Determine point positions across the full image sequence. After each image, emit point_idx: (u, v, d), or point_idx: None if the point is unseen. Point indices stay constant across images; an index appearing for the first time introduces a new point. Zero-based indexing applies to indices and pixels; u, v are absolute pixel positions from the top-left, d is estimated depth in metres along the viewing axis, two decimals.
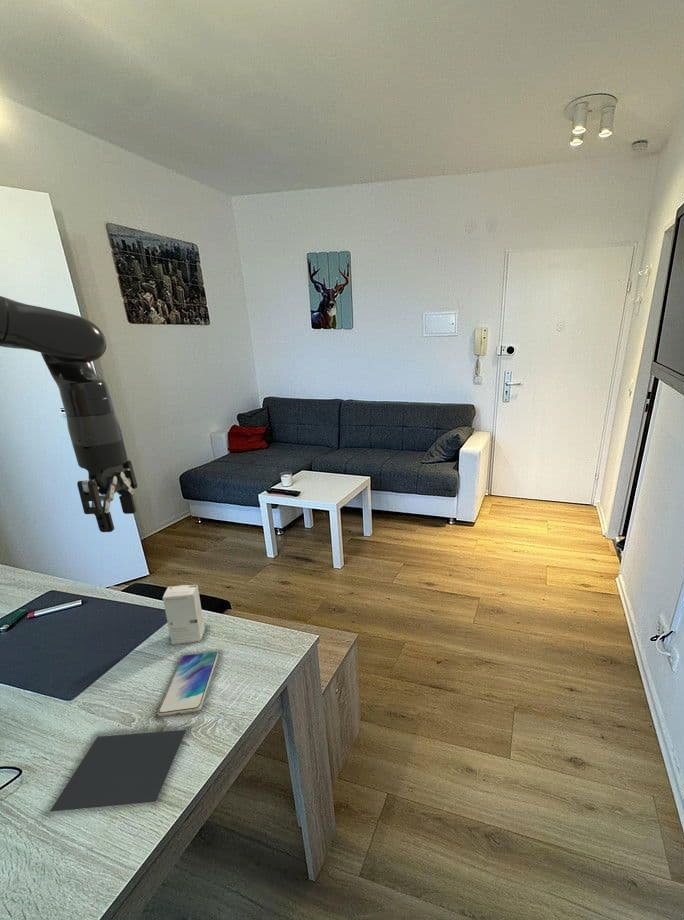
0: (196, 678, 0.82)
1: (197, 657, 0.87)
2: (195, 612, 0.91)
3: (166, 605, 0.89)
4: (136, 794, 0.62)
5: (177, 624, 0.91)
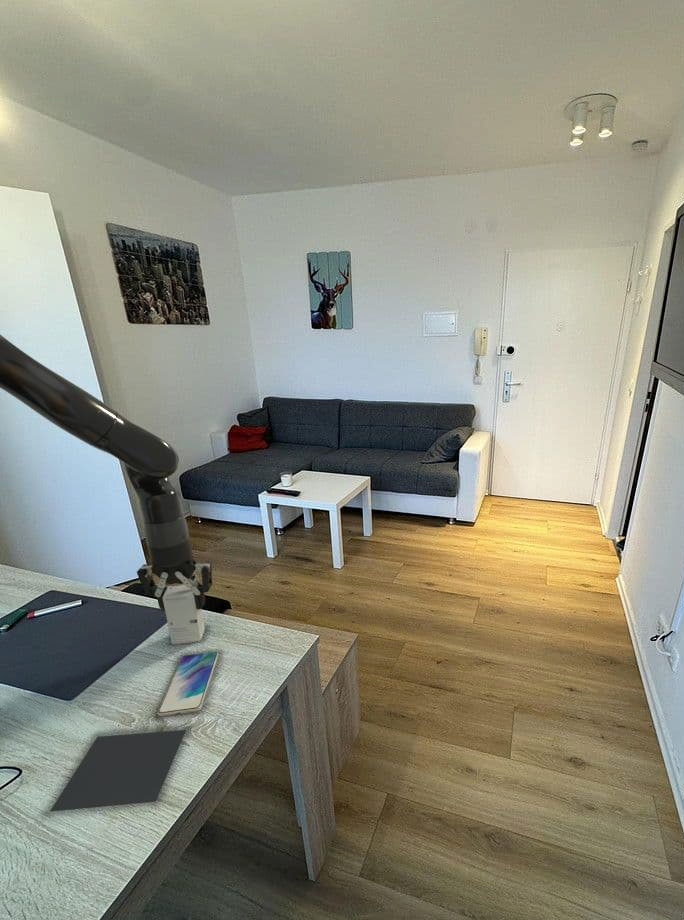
0: (196, 678, 0.82)
1: (197, 657, 0.87)
2: (195, 612, 0.91)
3: (166, 605, 0.89)
4: (136, 794, 0.62)
5: (177, 624, 0.91)
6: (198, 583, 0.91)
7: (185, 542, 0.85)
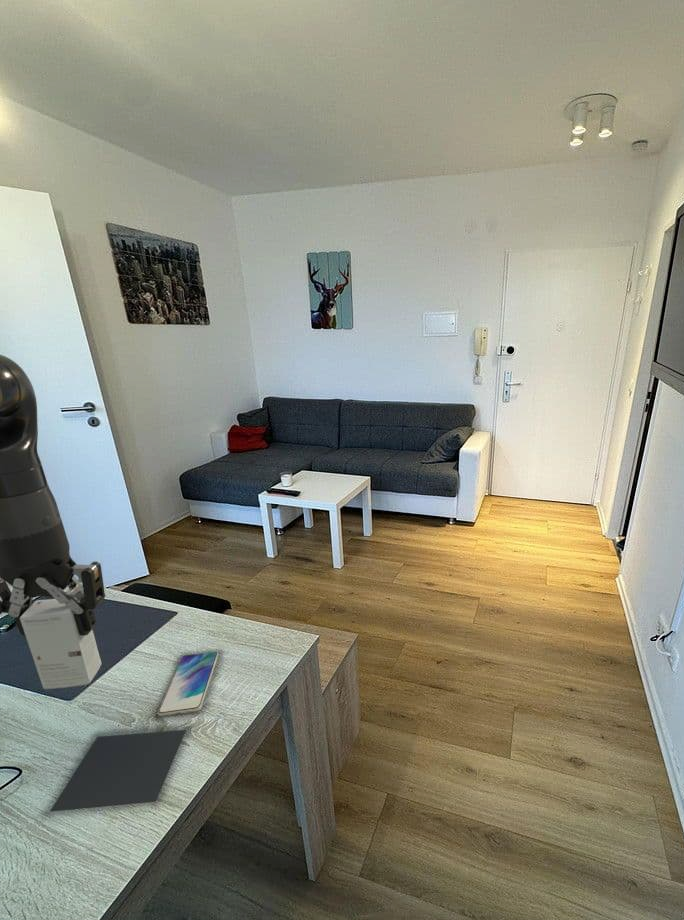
0: (196, 678, 0.82)
1: (197, 657, 0.87)
2: (77, 640, 0.59)
3: (27, 631, 0.57)
4: (136, 794, 0.62)
5: (49, 659, 0.59)
6: (82, 595, 0.59)
7: (49, 531, 0.53)
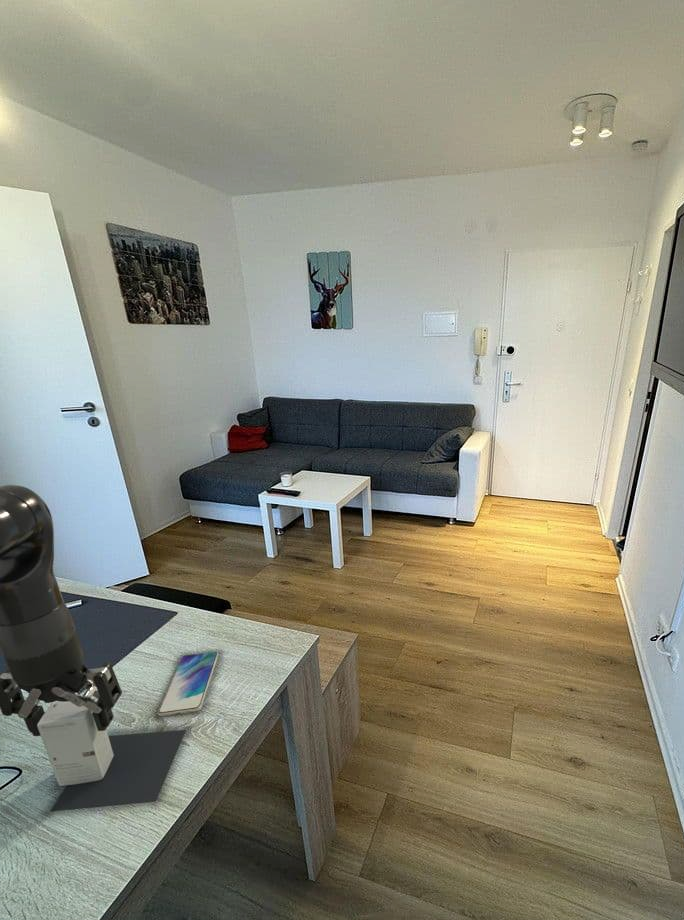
0: (196, 678, 0.82)
1: (197, 657, 0.87)
2: (90, 741, 0.61)
3: (44, 735, 0.60)
4: (136, 794, 0.62)
5: (64, 759, 0.61)
6: (99, 693, 0.61)
7: (64, 645, 0.56)
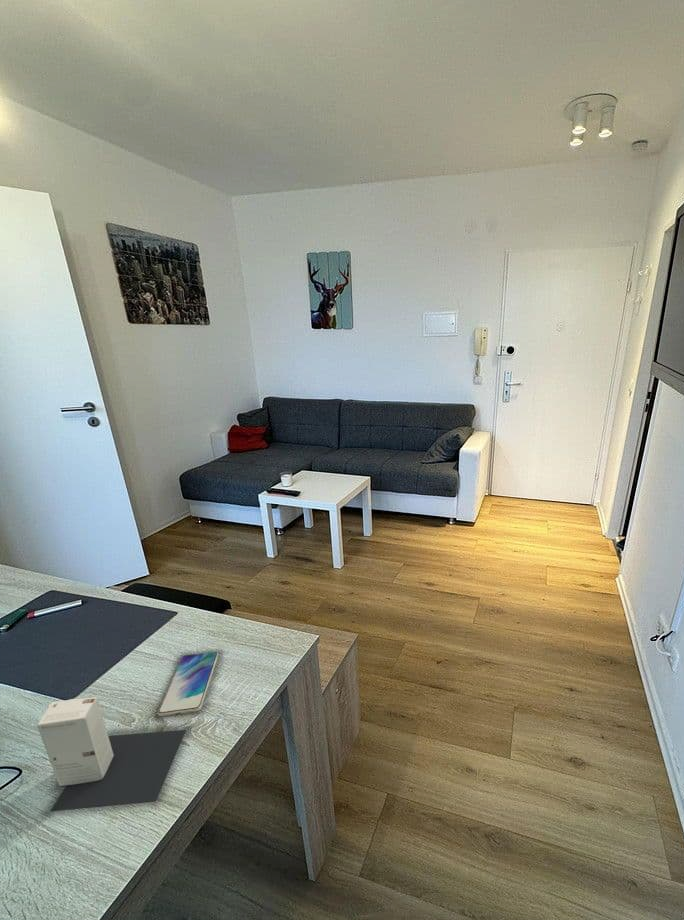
0: (196, 678, 0.82)
1: (197, 657, 0.87)
2: (90, 741, 0.61)
3: (44, 735, 0.60)
4: (136, 794, 0.62)
5: (64, 759, 0.61)
6: None
7: None
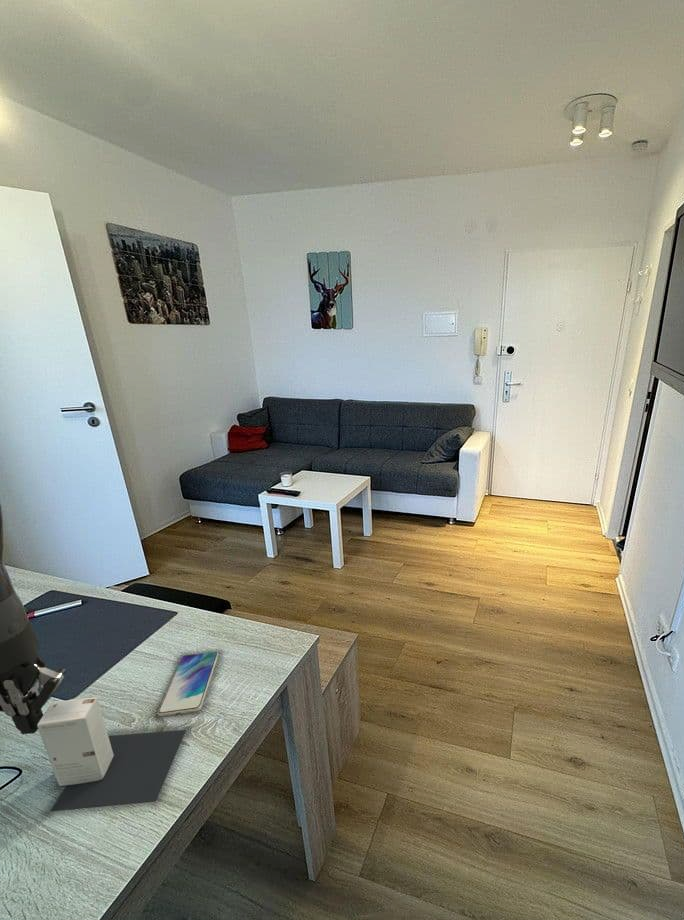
0: (196, 678, 0.82)
1: (197, 657, 0.87)
2: (90, 741, 0.61)
3: (44, 735, 0.60)
4: (136, 794, 0.62)
5: (64, 759, 0.61)
6: (34, 695, 0.60)
7: (15, 637, 0.55)
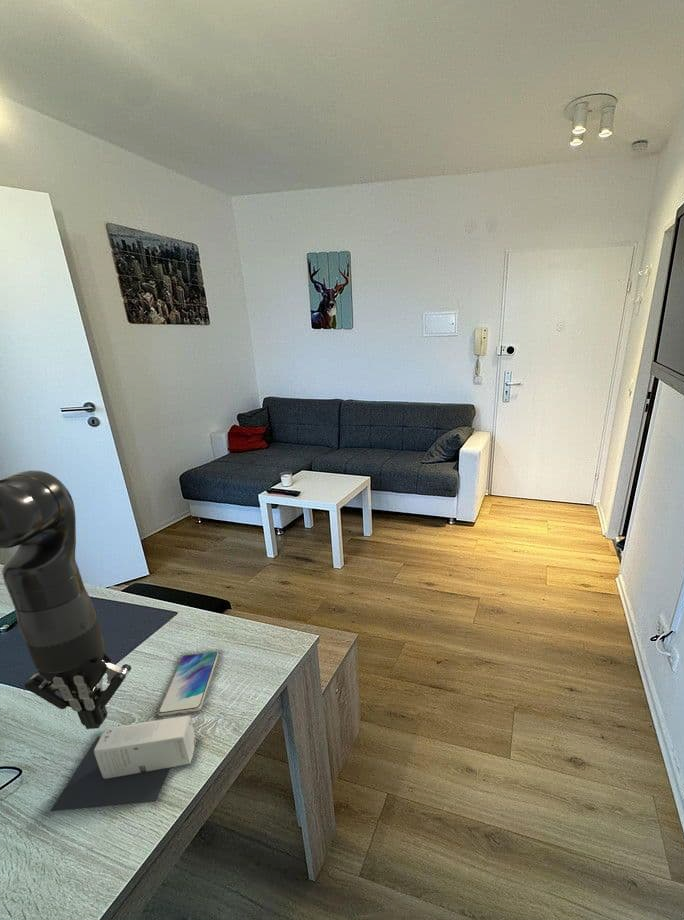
0: (196, 678, 0.82)
1: (197, 657, 0.87)
2: (158, 768, 0.66)
3: (167, 741, 0.64)
4: (136, 794, 0.62)
5: (135, 755, 0.64)
6: (98, 690, 0.61)
7: (86, 633, 0.55)
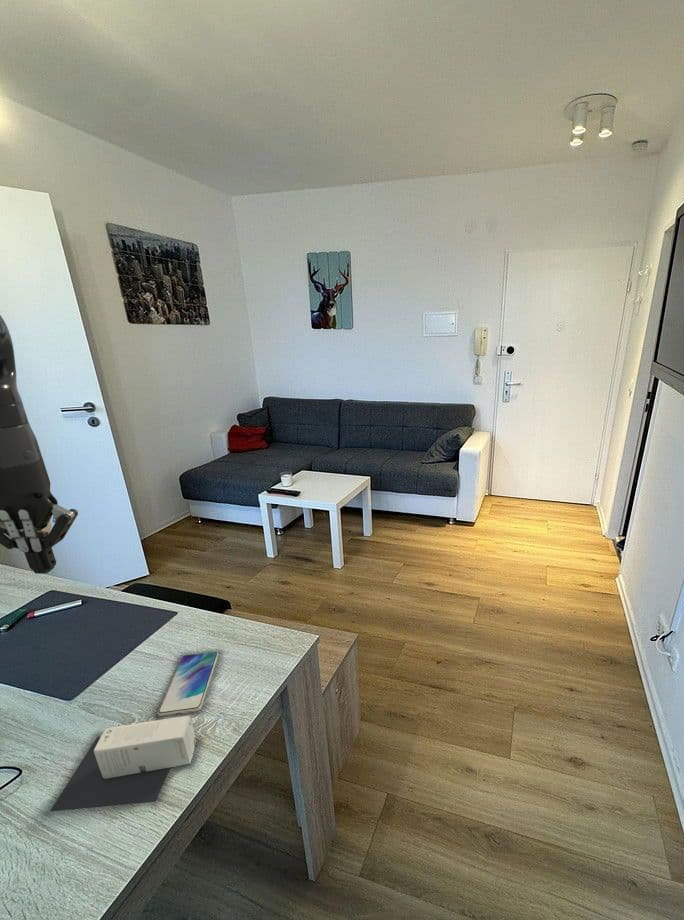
0: (196, 678, 0.82)
1: (197, 657, 0.87)
2: (158, 768, 0.66)
3: (167, 741, 0.64)
4: (136, 794, 0.62)
5: (135, 755, 0.64)
6: (46, 535, 0.63)
7: (30, 465, 0.57)
